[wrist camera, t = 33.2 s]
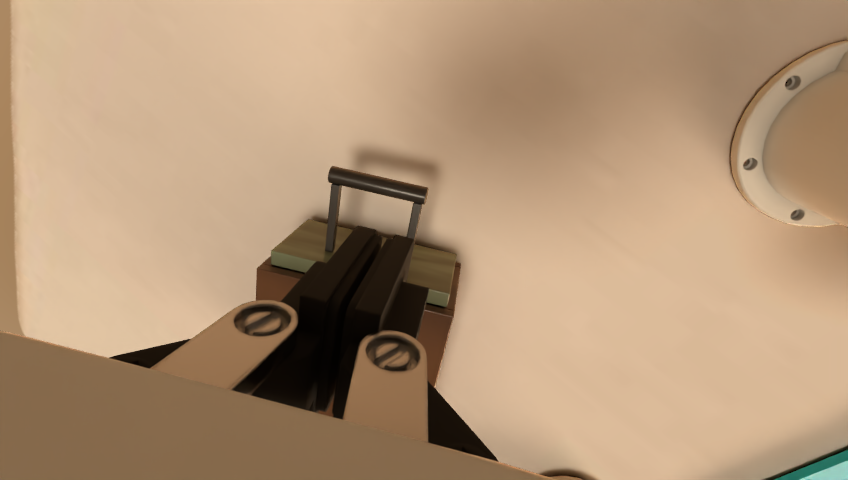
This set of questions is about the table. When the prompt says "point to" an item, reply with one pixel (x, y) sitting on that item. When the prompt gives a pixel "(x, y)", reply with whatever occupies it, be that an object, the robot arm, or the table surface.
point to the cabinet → (433, 327)
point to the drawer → (425, 264)
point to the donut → (565, 478)
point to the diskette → (823, 469)
